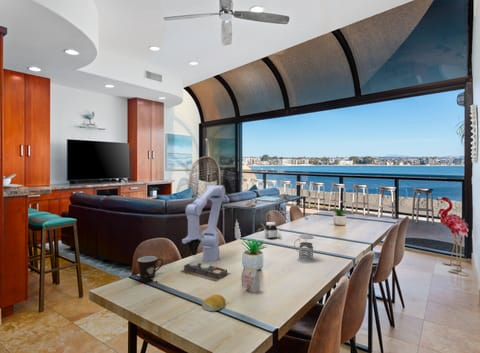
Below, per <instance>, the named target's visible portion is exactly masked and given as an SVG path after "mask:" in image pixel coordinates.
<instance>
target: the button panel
mask: <svg viewBox="0 0 480 353" xmlns="http://www.w3.org/2000/svg"><path fill="white" fill-rule="evenodd" d="M201 264H202V263H200V262H198V266H196V267H191V266H189V263H187V264H185V265H183V269H182V270H180V271H179V272H180V273H182V274H187V275H190V276H194V277H197V278H201V279H205V280H209V281H212V282H214V283H215V282H218V281H220V280H222V279H224V278H226V277H228V276H229V275H231V274H232V273H230V272H228V269H226V268H225V269H224V268H221V267H216V266H213V265H210V268H209V269H207V270H203V269H201ZM214 270H221V271H222V272H220V273H215V272H213V271H214Z"/></svg>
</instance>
